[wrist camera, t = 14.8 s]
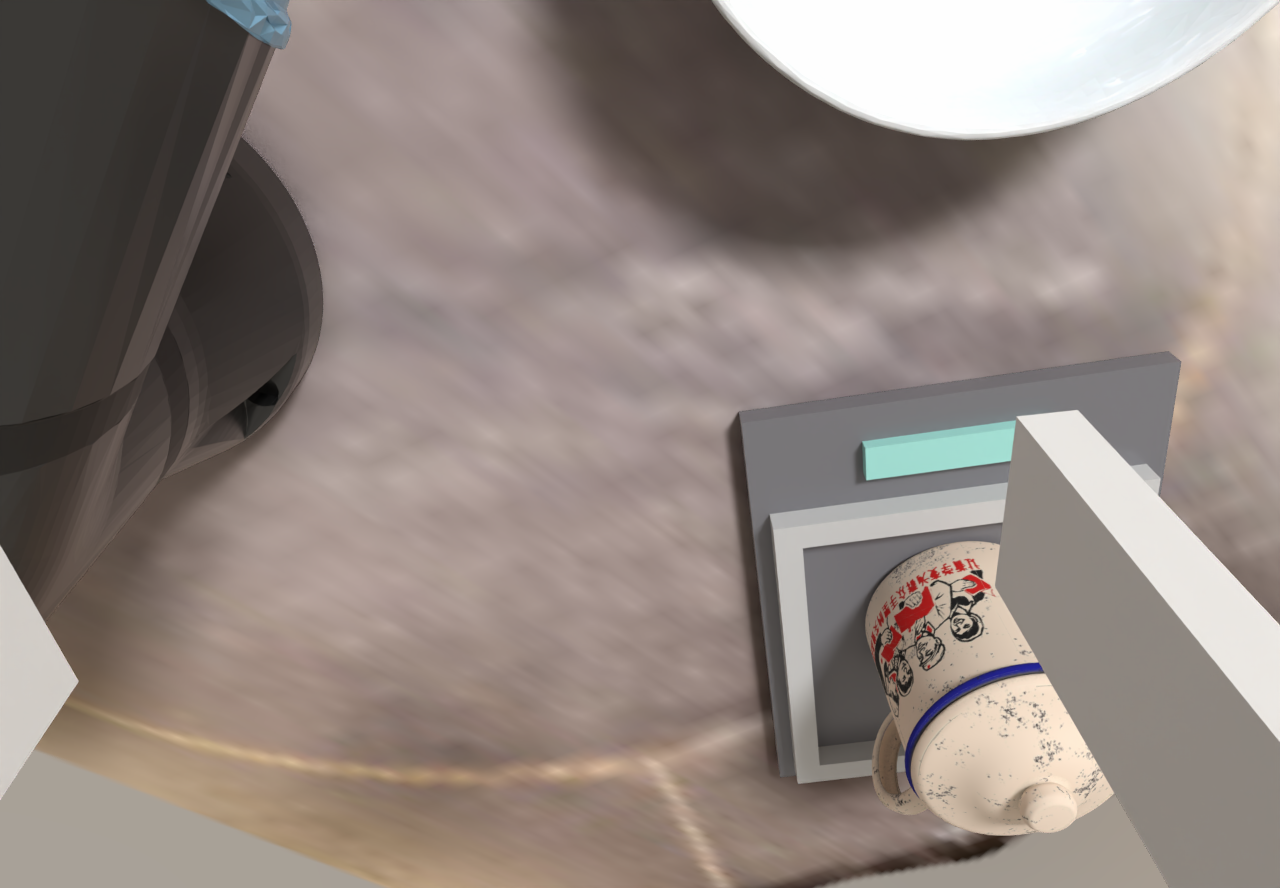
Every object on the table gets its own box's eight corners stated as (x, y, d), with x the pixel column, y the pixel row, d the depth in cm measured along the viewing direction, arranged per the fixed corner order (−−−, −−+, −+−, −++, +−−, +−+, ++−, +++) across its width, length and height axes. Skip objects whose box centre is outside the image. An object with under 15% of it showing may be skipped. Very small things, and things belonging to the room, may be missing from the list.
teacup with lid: (944, 500, 40) (1051, 695, 30) (1091, 584, 43) (1235, 789, 33) (784, 673, 46) (830, 889, 35) (924, 739, 48) (1004, 958, 38)
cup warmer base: (777, 762, 50) (783, 795, 48) (738, 412, 39) (744, 437, 37) (1112, 723, 49) (1132, 755, 47) (1168, 351, 38) (1197, 374, 36)
